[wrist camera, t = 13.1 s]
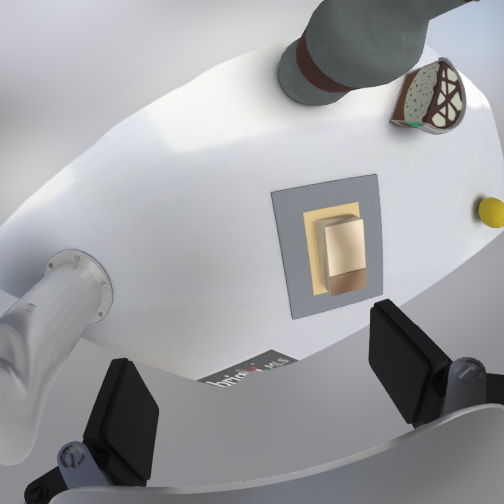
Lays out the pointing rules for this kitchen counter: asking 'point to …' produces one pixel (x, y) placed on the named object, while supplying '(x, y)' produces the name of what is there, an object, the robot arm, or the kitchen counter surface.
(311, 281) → the mat
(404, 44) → the bottle
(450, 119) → the food container
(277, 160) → the kitchen counter surface
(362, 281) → the birch block
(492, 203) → the lemon
